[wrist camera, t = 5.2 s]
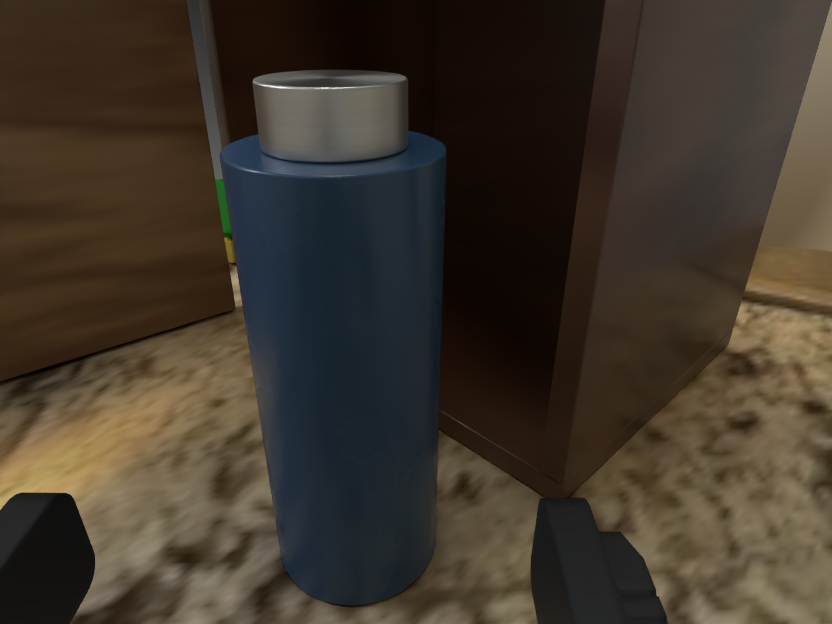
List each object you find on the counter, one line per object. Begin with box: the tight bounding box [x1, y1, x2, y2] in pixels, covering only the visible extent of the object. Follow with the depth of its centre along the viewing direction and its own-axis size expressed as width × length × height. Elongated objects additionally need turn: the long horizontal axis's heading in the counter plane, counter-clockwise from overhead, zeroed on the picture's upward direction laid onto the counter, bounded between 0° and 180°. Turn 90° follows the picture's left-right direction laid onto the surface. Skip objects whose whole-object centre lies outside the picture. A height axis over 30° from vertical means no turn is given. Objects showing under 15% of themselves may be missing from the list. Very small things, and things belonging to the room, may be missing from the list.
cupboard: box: [199, 0, 832, 498], centre depth 27 cm, size 16×22×24 cm
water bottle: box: [220, 70, 447, 606], centre depth 16 cm, size 5×5×14 cm
